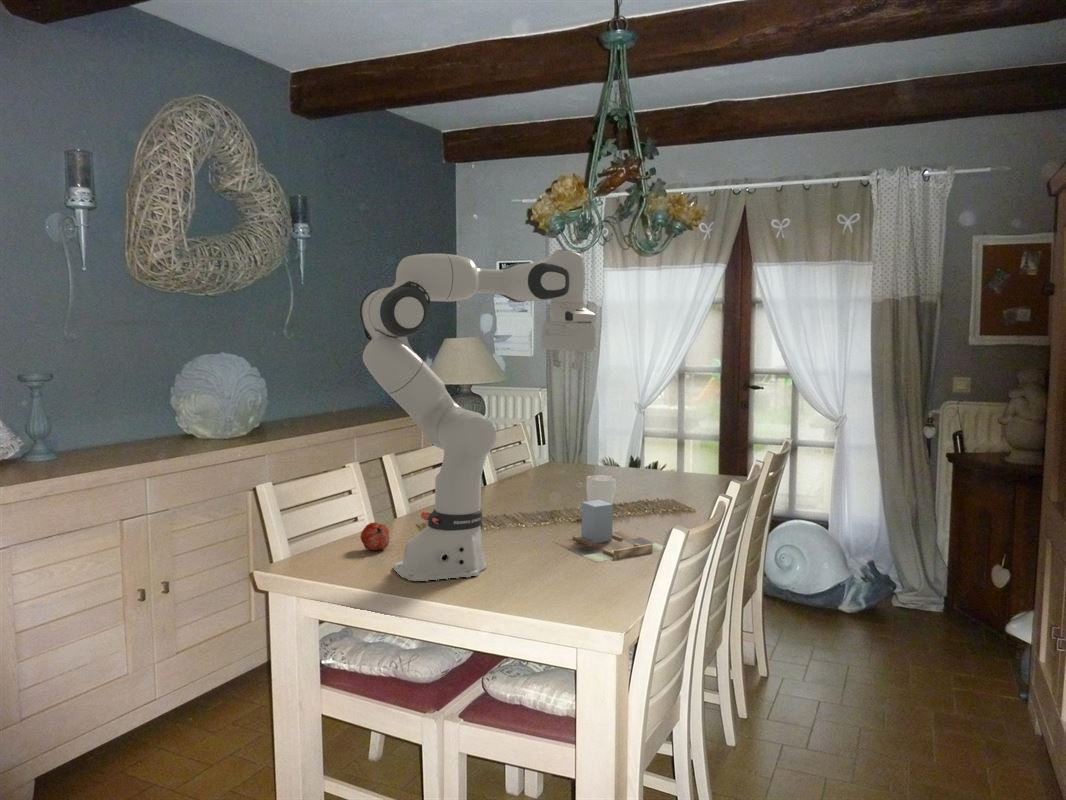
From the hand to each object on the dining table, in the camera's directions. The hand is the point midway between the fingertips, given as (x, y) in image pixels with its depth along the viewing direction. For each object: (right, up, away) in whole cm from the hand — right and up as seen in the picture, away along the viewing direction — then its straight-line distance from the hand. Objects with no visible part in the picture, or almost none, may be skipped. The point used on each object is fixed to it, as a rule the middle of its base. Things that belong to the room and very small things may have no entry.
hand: (566, 368), depth 203 cm
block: (+9, -46, +11) cm, 48 cm away
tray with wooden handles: (+12, -48, +6) cm, 50 cm away
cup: (+12, -44, +41) cm, 61 cm away
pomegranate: (-50, -48, +3) cm, 69 cm away
